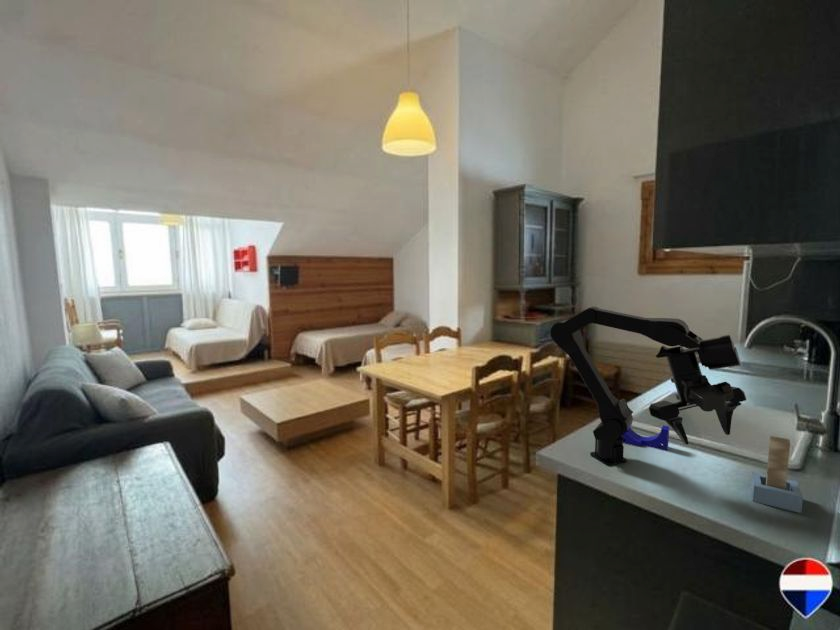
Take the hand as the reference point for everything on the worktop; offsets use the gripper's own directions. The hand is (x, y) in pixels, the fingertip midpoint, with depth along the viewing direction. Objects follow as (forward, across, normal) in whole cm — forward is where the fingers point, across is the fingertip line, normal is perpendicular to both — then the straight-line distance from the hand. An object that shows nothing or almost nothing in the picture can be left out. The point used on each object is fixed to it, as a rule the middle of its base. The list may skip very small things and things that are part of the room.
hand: (707, 439), depth 91 cm
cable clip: (+6, -6, +22) cm, 24 cm away
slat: (+14, +8, -4) cm, 16 cm away
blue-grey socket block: (+14, +8, -4) cm, 16 cm away
